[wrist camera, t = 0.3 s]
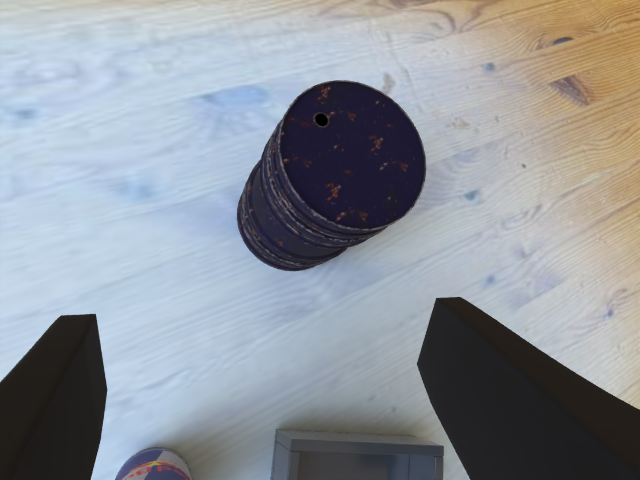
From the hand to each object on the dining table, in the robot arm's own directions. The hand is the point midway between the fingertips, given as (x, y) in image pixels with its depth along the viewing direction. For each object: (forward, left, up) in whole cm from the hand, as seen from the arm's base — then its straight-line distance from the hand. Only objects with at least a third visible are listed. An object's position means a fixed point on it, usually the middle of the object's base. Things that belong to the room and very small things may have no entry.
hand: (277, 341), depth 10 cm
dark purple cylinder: (+12, -7, -29) cm, 33 cm away
